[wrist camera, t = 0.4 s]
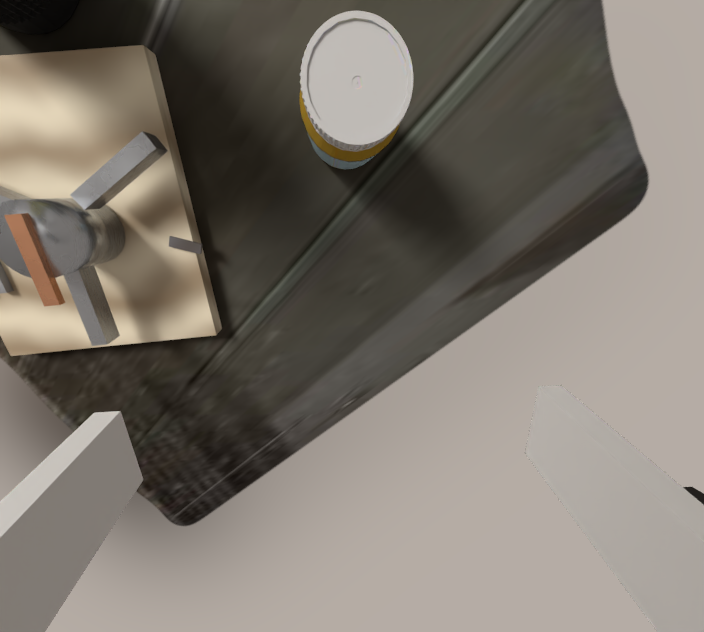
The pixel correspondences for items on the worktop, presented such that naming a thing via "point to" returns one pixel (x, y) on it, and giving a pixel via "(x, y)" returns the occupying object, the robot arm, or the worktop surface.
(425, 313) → the worktop surface
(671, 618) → the robot arm
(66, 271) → the capstan
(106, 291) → the stand
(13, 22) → the container
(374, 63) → the bottle
